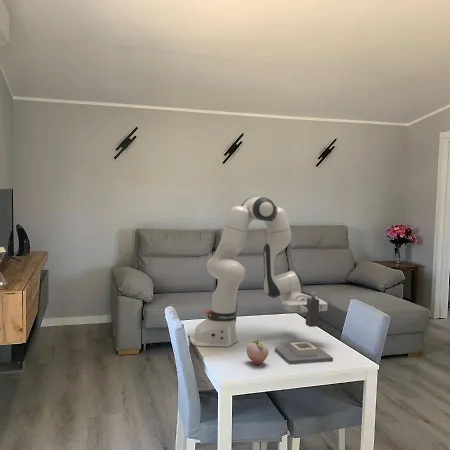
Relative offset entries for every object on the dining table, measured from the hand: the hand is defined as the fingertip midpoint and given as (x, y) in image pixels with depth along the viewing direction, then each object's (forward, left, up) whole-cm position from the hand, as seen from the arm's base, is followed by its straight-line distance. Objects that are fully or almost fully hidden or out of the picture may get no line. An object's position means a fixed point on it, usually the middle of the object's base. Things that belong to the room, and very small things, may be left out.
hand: (313, 310), depth 207 cm
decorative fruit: (-29, -10, -19) cm, 36 cm away
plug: (0, +1, -7) cm, 7 cm away
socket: (-6, -5, -19) cm, 20 cm away
